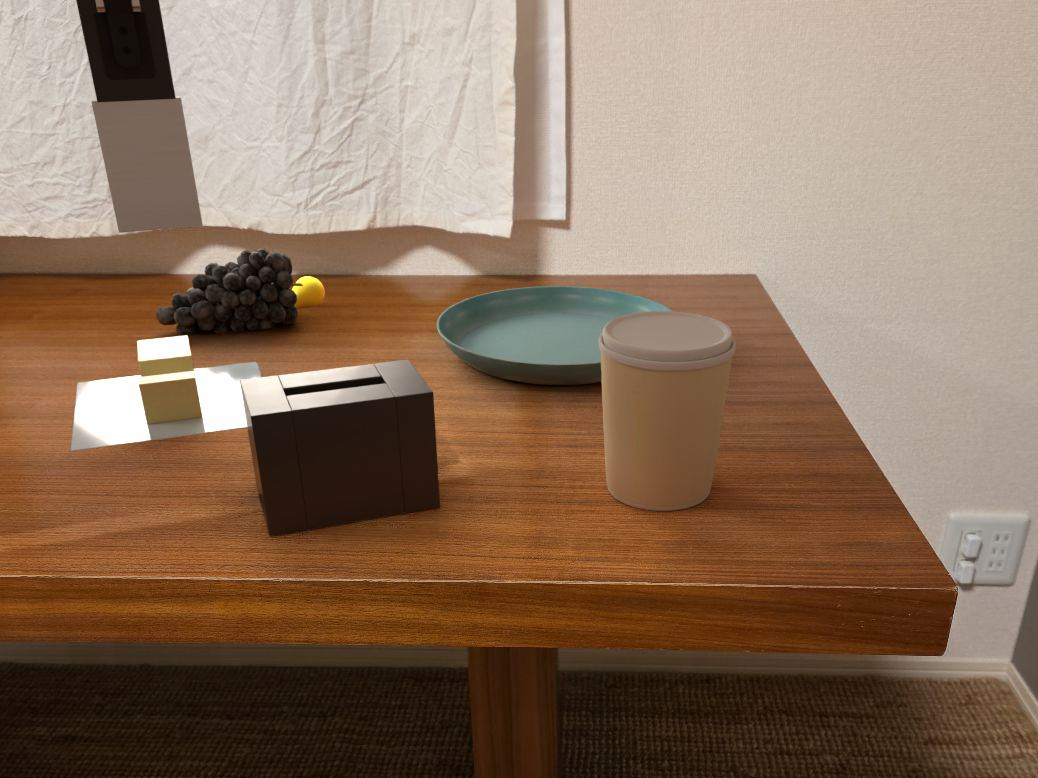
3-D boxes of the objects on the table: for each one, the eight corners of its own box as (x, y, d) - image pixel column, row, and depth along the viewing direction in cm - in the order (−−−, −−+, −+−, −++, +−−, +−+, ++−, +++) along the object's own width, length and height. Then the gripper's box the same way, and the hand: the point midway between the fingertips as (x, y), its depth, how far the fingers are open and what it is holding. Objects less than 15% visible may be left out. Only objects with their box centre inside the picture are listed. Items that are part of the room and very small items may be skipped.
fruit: (143, 258, 98) (298, 240, 103) (143, 267, 106) (287, 249, 110) (163, 348, 100) (314, 326, 105) (163, 350, 107) (303, 329, 112)
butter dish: (72, 462, 79) (70, 451, 78) (79, 392, 92) (76, 382, 92) (280, 433, 84) (278, 422, 83) (258, 371, 97) (256, 361, 96)
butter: (145, 400, 88) (137, 361, 86) (144, 377, 93) (136, 340, 91) (198, 393, 89) (191, 355, 87) (194, 371, 94) (187, 334, 92)
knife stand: (269, 536, 68) (250, 416, 64) (257, 493, 74) (239, 379, 70) (440, 507, 72) (433, 391, 68) (416, 468, 78) (408, 358, 73)
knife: (119, 235, 74) (67, -13, 66) (118, 229, 76) (67, -14, 68) (203, 228, 76) (162, -14, 68) (201, 222, 78) (161, -15, 70)
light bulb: (333, 304, 116) (328, 279, 113) (291, 329, 113) (286, 304, 110) (314, 290, 117) (309, 265, 114) (272, 315, 114) (266, 290, 112)
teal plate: (400, 382, 94) (398, 348, 92) (482, 308, 114) (481, 279, 113) (657, 407, 88) (659, 371, 87) (695, 325, 108) (698, 294, 107)
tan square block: (147, 424, 83) (138, 384, 81) (146, 416, 84) (138, 377, 83) (202, 417, 84) (195, 377, 82) (201, 409, 86) (193, 370, 84)
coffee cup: (667, 450, 80) (677, 302, 74) (748, 495, 73) (766, 335, 68) (570, 479, 76) (572, 323, 70) (647, 529, 69) (656, 362, 63)
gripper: (11, -236, 67) (76, 70, 76) (-11, -285, 54) (71, 90, 63) (130, -229, 69) (179, 66, 78) (138, -276, 56) (195, 85, 65)
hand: (131, 74), depth 71 cm, fingers closed on knife, 2 cm apart
